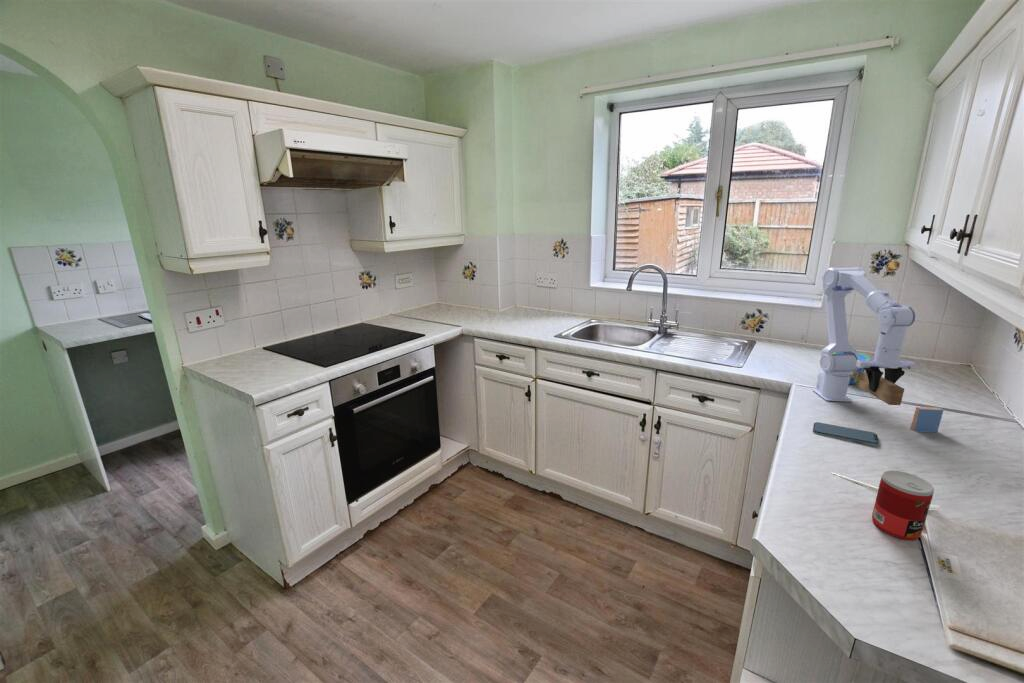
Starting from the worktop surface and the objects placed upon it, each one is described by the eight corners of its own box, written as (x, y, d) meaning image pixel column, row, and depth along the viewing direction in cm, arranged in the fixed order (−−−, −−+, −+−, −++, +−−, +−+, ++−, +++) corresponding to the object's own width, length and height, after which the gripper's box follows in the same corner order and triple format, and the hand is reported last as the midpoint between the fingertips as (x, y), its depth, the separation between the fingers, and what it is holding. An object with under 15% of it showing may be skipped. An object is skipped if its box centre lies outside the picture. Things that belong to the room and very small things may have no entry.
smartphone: (814, 420, 137) (877, 432, 129) (813, 425, 137) (876, 437, 129) (812, 430, 131) (878, 443, 123) (812, 436, 132) (877, 449, 123)
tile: (910, 428, 133) (916, 406, 131) (933, 429, 132) (939, 407, 130) (914, 431, 132) (920, 409, 130) (937, 432, 131) (943, 410, 129)
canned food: (914, 547, 87) (928, 498, 84) (864, 524, 94) (876, 478, 91) (925, 530, 92) (939, 483, 89) (878, 510, 98) (889, 465, 95)
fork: (832, 473, 113) (834, 466, 113) (939, 512, 98) (941, 504, 97) (827, 477, 111) (829, 471, 111) (935, 518, 96) (938, 510, 95)
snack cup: (878, 385, 165) (884, 359, 162) (862, 391, 160) (868, 363, 157) (832, 372, 178) (837, 347, 175) (816, 377, 173) (821, 352, 170)
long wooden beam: (857, 386, 143) (861, 371, 141) (868, 386, 142) (871, 371, 141) (889, 404, 129) (893, 388, 128) (900, 405, 129) (904, 388, 127)
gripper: (870, 350, 129) (860, 395, 132) (927, 352, 127) (915, 397, 131) (855, 343, 135) (846, 386, 139) (909, 344, 133) (898, 387, 137)
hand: (879, 390), depth 135 cm, fingers closed on long wooden beam, 3 cm apart
